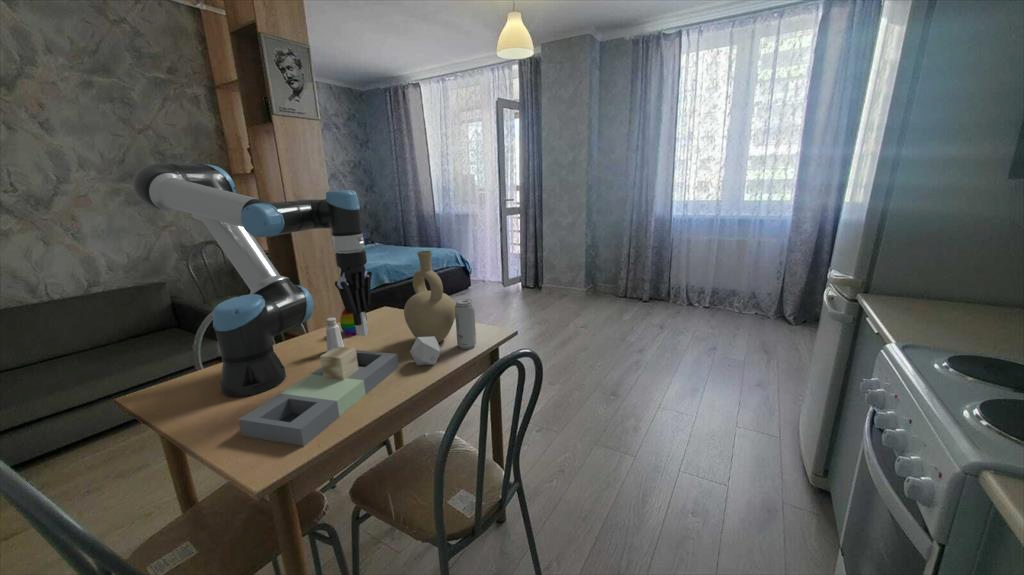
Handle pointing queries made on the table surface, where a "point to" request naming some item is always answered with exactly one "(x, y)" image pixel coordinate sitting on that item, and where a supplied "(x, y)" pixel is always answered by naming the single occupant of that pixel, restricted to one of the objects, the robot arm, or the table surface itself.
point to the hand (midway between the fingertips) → (362, 334)
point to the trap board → (315, 401)
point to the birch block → (339, 363)
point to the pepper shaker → (333, 335)
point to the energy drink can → (465, 323)
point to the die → (425, 351)
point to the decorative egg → (347, 323)
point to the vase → (429, 303)
